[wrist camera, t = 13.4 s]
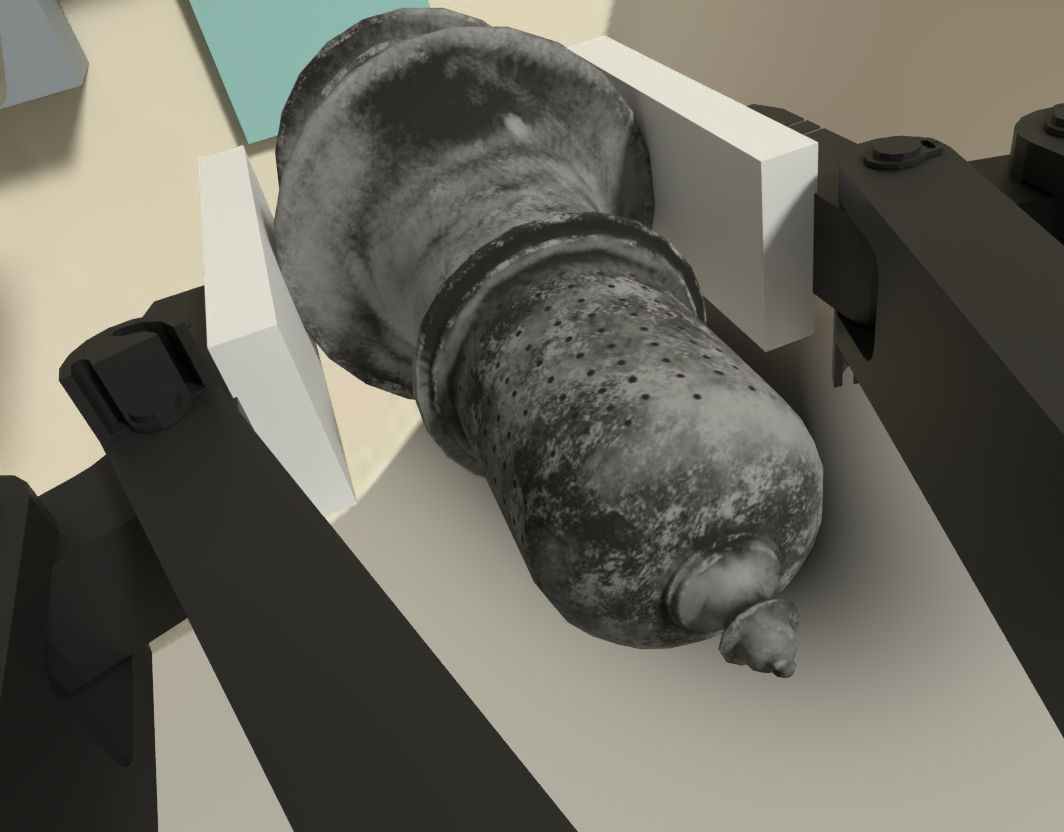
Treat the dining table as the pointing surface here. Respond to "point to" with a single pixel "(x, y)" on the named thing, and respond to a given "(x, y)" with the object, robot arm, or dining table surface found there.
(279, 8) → the coaster
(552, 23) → the dining table surface
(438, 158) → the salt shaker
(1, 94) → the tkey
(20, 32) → the block
